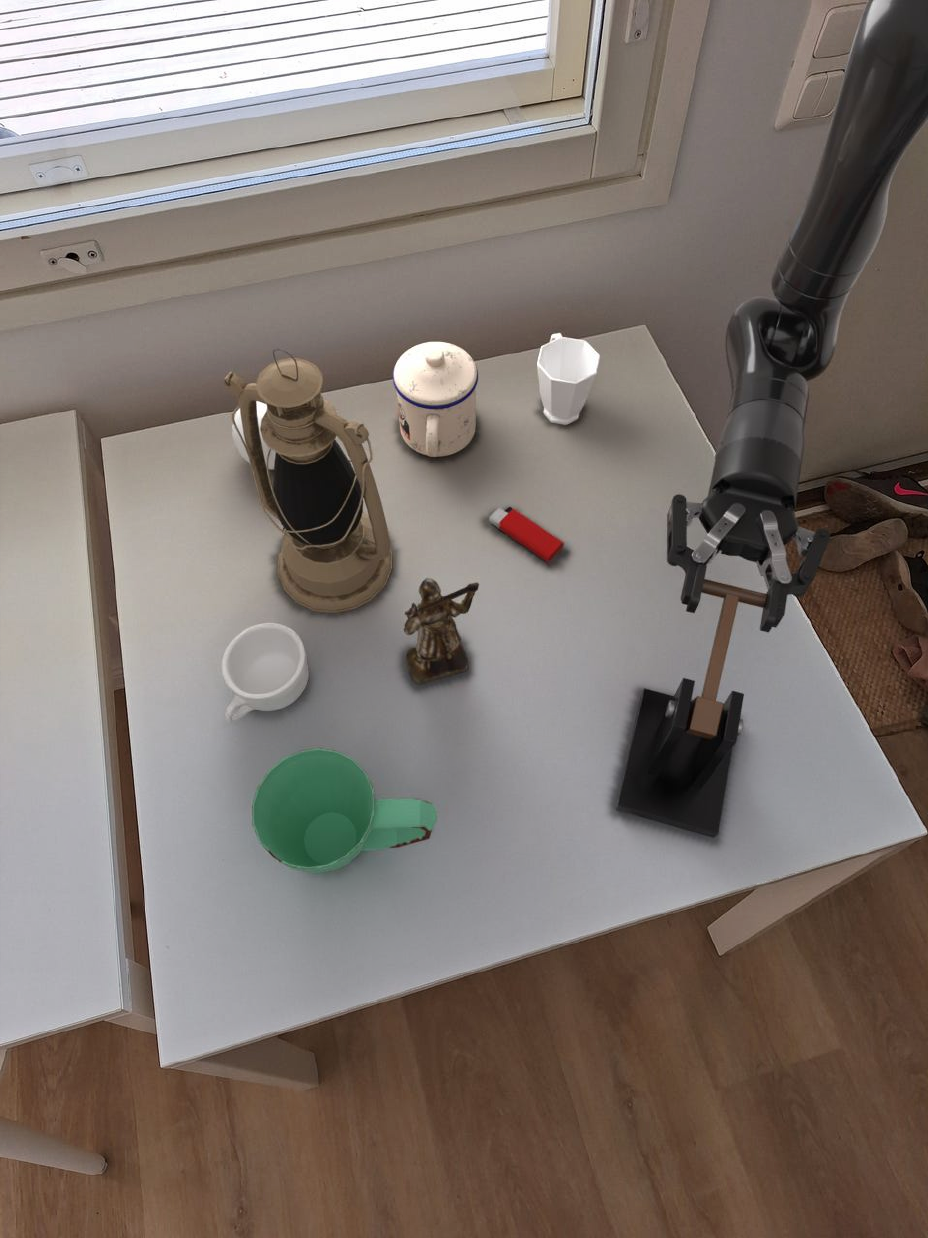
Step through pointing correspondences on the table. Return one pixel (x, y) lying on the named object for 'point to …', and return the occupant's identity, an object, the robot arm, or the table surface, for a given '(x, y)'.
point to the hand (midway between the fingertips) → (730, 616)
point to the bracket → (678, 762)
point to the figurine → (437, 632)
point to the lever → (718, 657)
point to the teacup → (264, 669)
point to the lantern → (315, 488)
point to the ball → (240, 447)
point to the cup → (565, 377)
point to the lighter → (526, 533)
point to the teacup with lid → (436, 398)
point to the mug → (331, 813)
